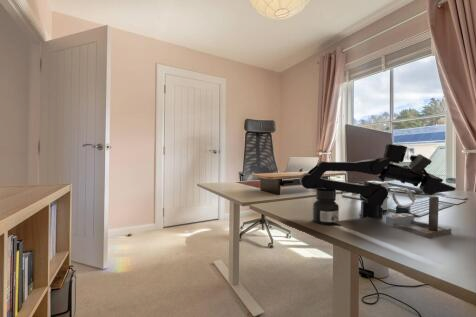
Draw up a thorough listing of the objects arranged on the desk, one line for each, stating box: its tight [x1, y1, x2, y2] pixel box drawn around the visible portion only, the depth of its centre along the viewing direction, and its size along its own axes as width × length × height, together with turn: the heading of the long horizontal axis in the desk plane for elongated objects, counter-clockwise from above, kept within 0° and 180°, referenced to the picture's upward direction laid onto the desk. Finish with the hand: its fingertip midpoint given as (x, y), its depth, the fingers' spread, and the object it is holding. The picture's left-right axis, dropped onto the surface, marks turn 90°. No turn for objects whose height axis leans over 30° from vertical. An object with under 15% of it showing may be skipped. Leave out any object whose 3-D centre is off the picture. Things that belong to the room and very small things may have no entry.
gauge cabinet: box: [385, 212, 415, 228], centre depth 79 cm, size 2×11×4 cm, turn 112°
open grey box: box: [393, 219, 452, 239], centre depth 74 cm, size 13×11×2 cm
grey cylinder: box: [420, 195, 443, 233], centre depth 69 cm, size 3×8×11 cm, turn 112°
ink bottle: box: [312, 188, 340, 226], centre depth 84 cm, size 10×9×12 cm
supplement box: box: [362, 180, 389, 211], centre depth 104 cm, size 7×7×13 cm
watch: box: [391, 187, 417, 214], centre depth 96 cm, size 6×8×11 cm
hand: (448, 184), depth 82 cm, fingers open, 9 cm apart
